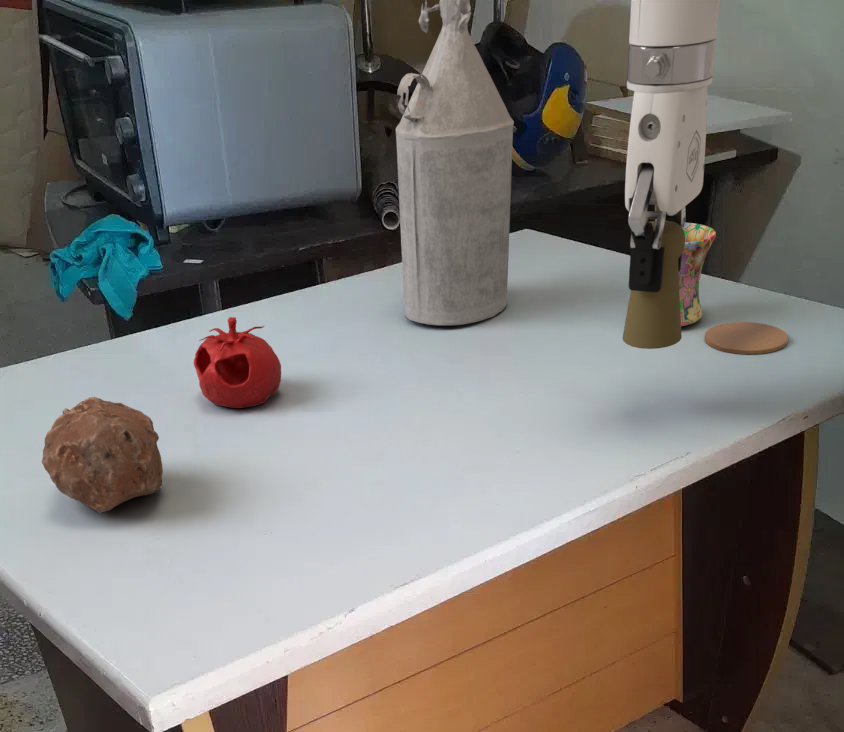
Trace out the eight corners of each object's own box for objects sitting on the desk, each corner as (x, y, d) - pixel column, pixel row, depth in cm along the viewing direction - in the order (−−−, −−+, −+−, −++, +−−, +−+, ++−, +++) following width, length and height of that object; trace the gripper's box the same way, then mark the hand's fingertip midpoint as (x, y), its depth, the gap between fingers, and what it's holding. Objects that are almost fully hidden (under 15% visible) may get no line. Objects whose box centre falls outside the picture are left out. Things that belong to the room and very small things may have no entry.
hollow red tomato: (240, 376, 125) (226, 297, 119) (301, 391, 120) (291, 310, 114) (182, 404, 119) (165, 323, 113) (244, 421, 114) (230, 338, 108)
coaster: (796, 331, 127) (796, 327, 127) (776, 359, 121) (777, 354, 120) (717, 322, 131) (718, 318, 131) (694, 348, 125) (694, 344, 124)
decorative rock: (177, 517, 98) (154, 418, 92) (59, 538, 96) (26, 438, 89) (164, 461, 108) (142, 367, 101) (56, 480, 106) (27, 385, 99)
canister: (379, 321, 138) (351, -50, 112) (460, 286, 147) (451, -63, 121) (451, 339, 131) (439, -51, 105) (530, 301, 141) (538, -64, 114)
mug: (644, 305, 137) (652, 219, 130) (712, 312, 134) (724, 225, 127) (615, 335, 129) (622, 245, 122) (687, 343, 126) (698, 252, 119)
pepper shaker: (668, 351, 103) (677, 235, 95) (613, 344, 105) (617, 230, 98) (690, 330, 106) (700, 216, 99) (636, 324, 109) (642, 212, 102)
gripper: (681, 83, 83) (663, 312, 95) (739, 50, 94) (716, 259, 106) (595, 83, 86) (588, 305, 98) (660, 51, 97) (647, 254, 109)
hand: (654, 279), depth 102 cm, fingers closed on pepper shaker, 5 cm apart
